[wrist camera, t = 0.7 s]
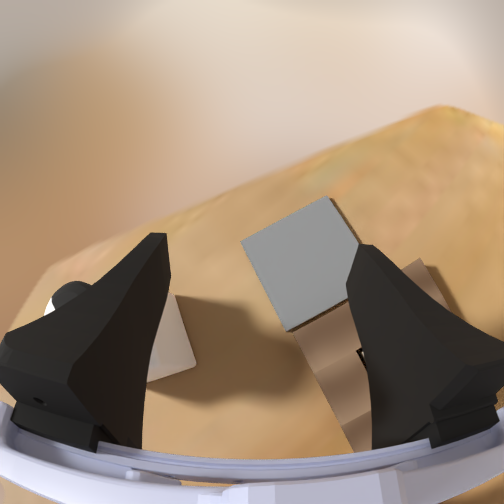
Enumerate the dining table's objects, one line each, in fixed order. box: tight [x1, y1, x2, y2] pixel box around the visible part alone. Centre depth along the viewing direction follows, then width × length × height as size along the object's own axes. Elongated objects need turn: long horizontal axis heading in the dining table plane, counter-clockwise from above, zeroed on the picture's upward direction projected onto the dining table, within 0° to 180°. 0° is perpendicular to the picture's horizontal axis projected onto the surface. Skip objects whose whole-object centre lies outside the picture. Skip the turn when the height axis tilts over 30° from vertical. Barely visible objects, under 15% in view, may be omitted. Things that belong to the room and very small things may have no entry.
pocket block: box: [292, 258, 451, 453], centre depth 22 cm, size 12×12×2 cm
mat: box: [240, 195, 359, 332], centre depth 27 cm, size 9×9×1 cm
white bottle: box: [44, 281, 196, 382], centre depth 22 cm, size 7×7×12 cm
